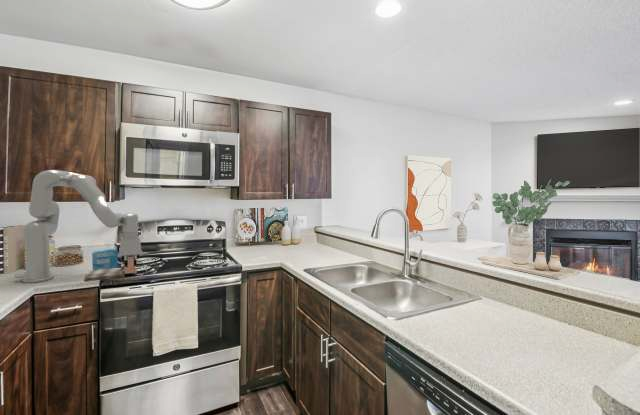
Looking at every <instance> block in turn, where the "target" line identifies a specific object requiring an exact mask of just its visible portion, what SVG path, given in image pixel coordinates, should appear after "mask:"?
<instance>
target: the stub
mask: <svg viewBox="0 0 640 415" xmlns="http://www.w3.org/2000/svg"><path fill="white" fill-rule="evenodd" d="M127 260H128V267H127V268H126V266H124V271H125V274H135V273H136V274H137V272H138V268H137V266H136V265H135V267H134V256H129V257H128V256H127Z"/></svg>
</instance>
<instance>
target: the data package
mask: <svg viewBox="0 0 640 415" xmlns="http://www.w3.org/2000/svg"><path fill="white" fill-rule="evenodd" d="M118 253H119V251H118V250H117V249H114V248H109V249H102V250H101V249H100V250H93V252H92V254H91V256H92V257H91V258H92V260H91V261H92V262H91V264H92V270H102V269H113V268H119V264H118V263H119V261H118V260H119V257H118V256H117V255H118Z"/></svg>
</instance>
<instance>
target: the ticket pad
mask: <svg viewBox="0 0 640 415" xmlns="http://www.w3.org/2000/svg"><path fill="white" fill-rule="evenodd" d="M123 269H124V267H117V268H113V269H102V270H93V269H92V270H88V271H87V273H86V275H85V276H84V280H83V281H84V282H92V281H100V280H101V281H102V280H110V279H119V278H125V277H126V276H125V270H123Z"/></svg>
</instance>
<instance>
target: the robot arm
mask: <svg viewBox="0 0 640 415" xmlns="http://www.w3.org/2000/svg"><path fill="white" fill-rule="evenodd" d="M53 187H67V188H72V189H75V190H76V191H77V192H78V193H79V194H80V195H81V197H83V198H84V200H85V201H86V202H87V203H88V205H89V207H90V208H91V209H92V212H93V214H94V215H95V217H96V218H97V219H98V220H99V221H100V222H101V223H102V224H103V225H104V226H106V227H108V228H110V229H111V228H117V227H120V226H122V233H119V236H120V237H121V238H120V244H119V251H118V255H117V256H118V258H121V259H122V260H123V261H124V267H126V268H127V267H128V256H133V257H134V267H135V266H136V265H137V259H139V258H140V257H141V256H143V255H144V252H143V250H142V245H141V238H140V237H139V215H138V214H137V213H120V212H115V213H114V212H113V211H112V209H111V208H110V207H109V206H108V204H107V201H106V195H105V194H104V193H103V192H102V190H101V189H100V188H99V187H98V186H97V181H96V179H95V177H93V176H91V175H88V174H81V173H75V172H71V171H65V170H59V169H48V170H44V171H41V172H39V173H38V174H37V175H36V176H35V177H34V178H33V181H32V187H31V188H32V189H31V194H30V200H29V201H30V202H29V206H28V212H29V215H30V216H31V217H33V218H35V219H36V220H33V221H30V222H27V223H26V224H25V225H24V227H23V229H22V234H23V239H24V245H25V247H24V248H25V250H24V251H25V272H23V273H15V274H14V278H17V279H21V278H22V279H21V281H22V282H23V283H27V284H29V283H41V282H45V281H49V280H53V279H54V278H55V275H54V274H51V251H50V250H51V247H50V240H49V238H48V237H50V236H52V235H53V234H55V233H56V232H57V229H58V225H59V218H60V206H59V204H58V203H57V202H56V201H55V200H53V197H54V190H53Z"/></svg>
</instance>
